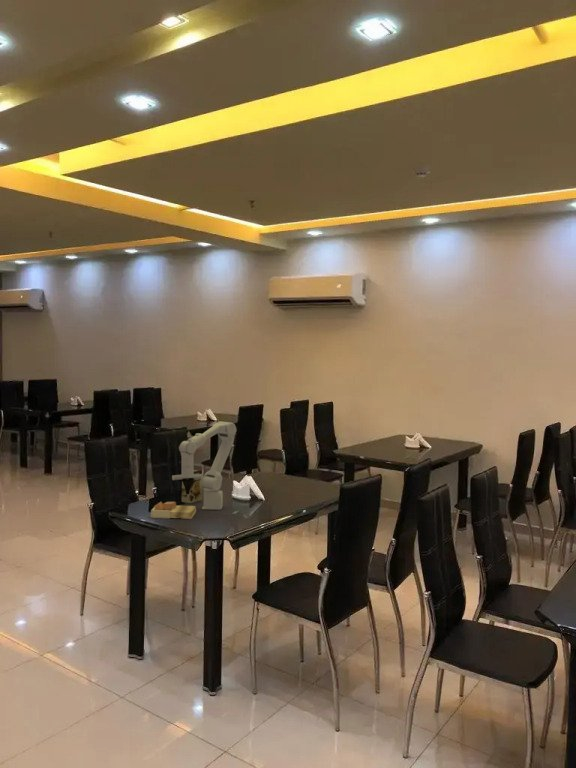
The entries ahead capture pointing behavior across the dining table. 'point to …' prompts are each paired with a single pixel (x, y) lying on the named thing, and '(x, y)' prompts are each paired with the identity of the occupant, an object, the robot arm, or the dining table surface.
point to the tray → (160, 513)
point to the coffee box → (193, 490)
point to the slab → (183, 512)
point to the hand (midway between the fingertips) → (187, 494)
